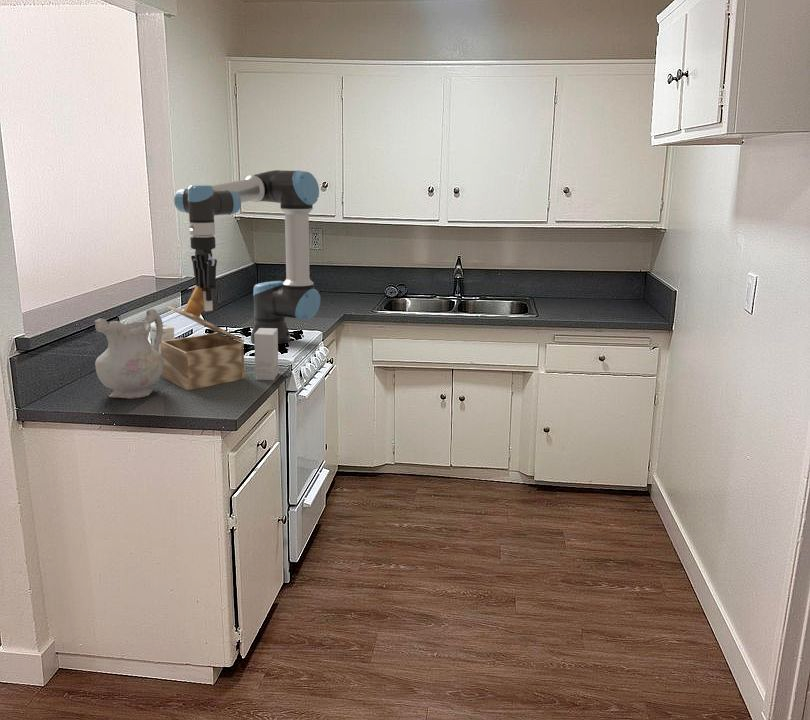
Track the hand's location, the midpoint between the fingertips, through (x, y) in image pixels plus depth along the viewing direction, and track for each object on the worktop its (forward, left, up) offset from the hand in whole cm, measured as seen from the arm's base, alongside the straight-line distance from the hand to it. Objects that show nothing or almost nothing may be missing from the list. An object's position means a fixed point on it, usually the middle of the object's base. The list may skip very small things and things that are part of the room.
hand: (206, 310), depth 243 cm
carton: (+2, 0, -22) cm, 22 cm away
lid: (+1, 0, -5) cm, 5 cm away
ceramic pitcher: (+25, +1, -23) cm, 34 cm away
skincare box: (-15, +11, -22) cm, 29 cm away
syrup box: (+7, -19, -22) cm, 30 cm away
